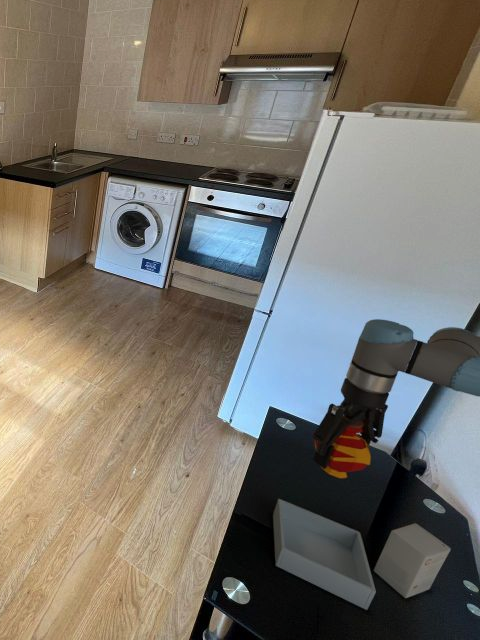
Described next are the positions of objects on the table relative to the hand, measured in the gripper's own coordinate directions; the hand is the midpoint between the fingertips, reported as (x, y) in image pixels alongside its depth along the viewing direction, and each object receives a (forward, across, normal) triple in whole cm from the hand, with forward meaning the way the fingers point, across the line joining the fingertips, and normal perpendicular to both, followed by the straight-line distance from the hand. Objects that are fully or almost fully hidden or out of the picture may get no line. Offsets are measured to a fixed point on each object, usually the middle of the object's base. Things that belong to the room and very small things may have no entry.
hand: (337, 461), depth 99 cm
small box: (+22, -8, +14) cm, 27 cm away
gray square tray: (+22, +7, +7) cm, 24 cm away
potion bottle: (+3, 0, 0) cm, 3 cm away
